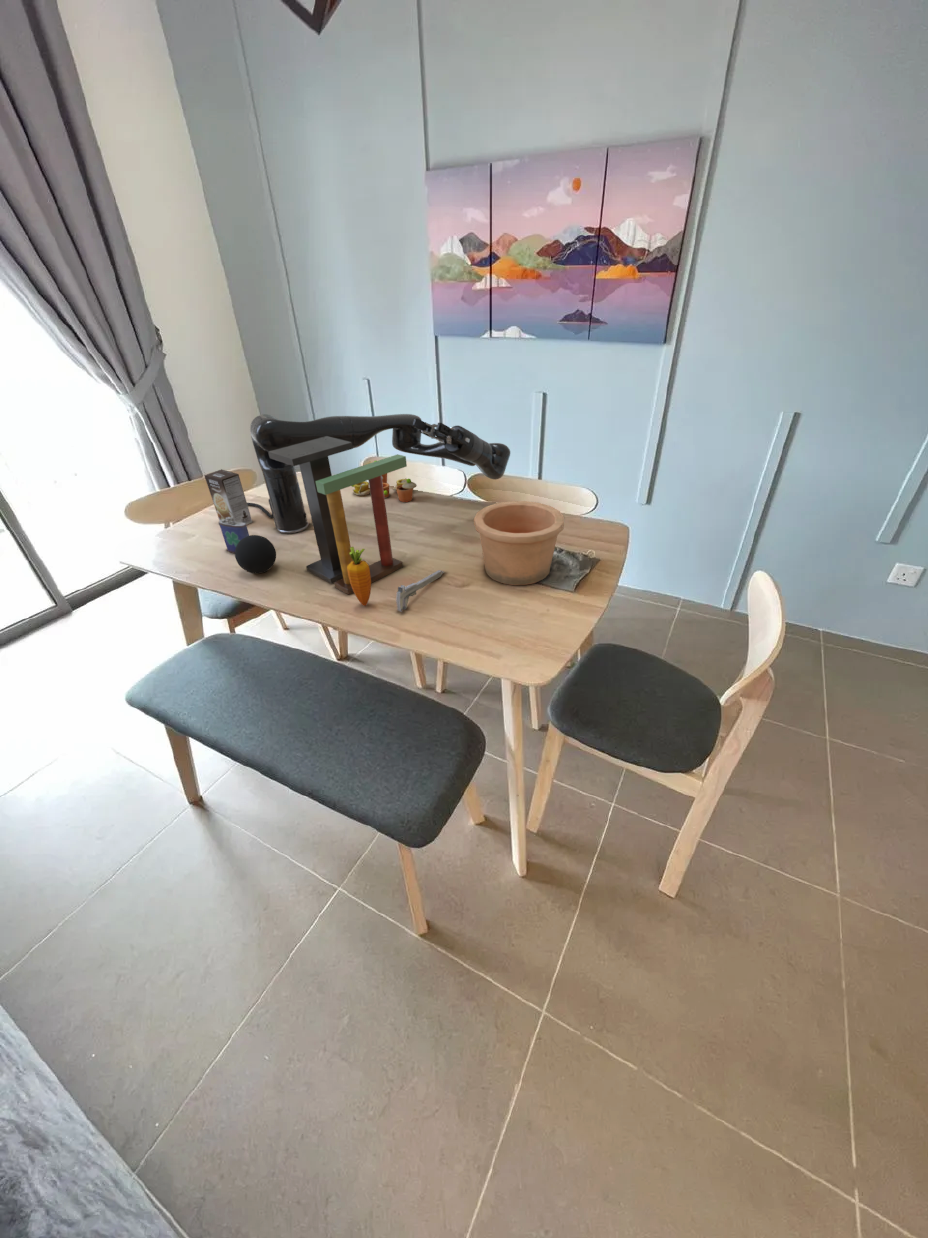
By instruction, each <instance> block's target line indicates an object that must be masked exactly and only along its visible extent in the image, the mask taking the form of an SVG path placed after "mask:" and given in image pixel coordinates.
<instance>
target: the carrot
mask: <svg viewBox="0 0 928 1238" xmlns="http://www.w3.org/2000/svg"><path fill="white" fill-rule="evenodd" d="M350 549H351V552H350V556H351V558H352V559H353V561H352V562H351V563H350V564H349V565H348V566H347V571H348V576H349V580H350V584H351V586H352V589H353V591H354V592H353V593H354V596H355V597H356V599H357V600H358V602H359V603H360V604H361V605H362V606H364V607H366V606H367V605H368V602H369V600H370V596H371V593H372V591H371V590H372V583H371V577H370V569H369V563H367V561H366V560H363V558H362V557H361V555H362V554H363V552H364V551H365V550H366V549H365V548H362V549H360V550H359V549H355V547H354V546H351V548H350Z"/></svg>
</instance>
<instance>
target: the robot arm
mask: <svg viewBox="0 0 928 1238" xmlns="http://www.w3.org/2000/svg"><path fill="white" fill-rule="evenodd" d="M249 428H250V429H249V433H250V434H249V435H250V438H251V443H252V445H253V449H254V452H255V455H256V459H257V462H258V465H259V467H260V470H261V472H262V476H263V479H264V482H265V487H266V491H267V494H268V497H269V498H268V504H269V507H270V511H271V513H270V512H269V511H268V510H266V509H265V508H264V507H263V506H262V505H261V504H258V503H253V502H247V505H248V507H255V508H258V509H260V510H261V511H262V512H263V513H264V514H265V515H266V516H267V517H268V518H269V519H272V520H273V522H274V526H275V529H277V531H278V532H279V533H280V534H287V535H288V534H289V535H290V534H297V533H300V532H303V531H305V530H306V529H307V528H309V525H310V524H309V522H308V515H307V512H306V509H305V503H304V501H303V496H302V492H301V488H300V484H299V479H298V474H297V471H296V466H292V465H289V464H286V463H283V462H280V461H277V460H274V459H271V458H270V457H269V453H268V452H269V451H273V450H276V449H280V448H284V447H288V446H291V445H295V444H299V443H303V442H307V441H310V440H314V439H318V438H322V437H325V436H329V437H332V438H336V439H340V440H344V441H348V442H352V446H353V449H356V448H360V447H361V446H363V445H364V444H366V443H367V442H368V441H370V440H372V439H373V438H374V437H375V436H377V435H378V434H380V433H382V432H384V431H388V430H392V435H391V436H392V437H391V445H392V447H393V448H394V449H395V450H396V451H398V452H403V453H406V454H411V455H417V456H424V457H431V458H436V459H437V458H438V459H443V460H449V461H453V462H455V463H460V464H463V465H466V466H469V467H475V466H476V467H477V469H479V471H480V472H481V473H482V474H483V476H485V477H486V478H487V479H490V480H495V481H496V480H499V479H501V478H502V477H503V476H505V475H504V474H505V472H506V470H507V466H508V464H509V463H508V462H509V460H510V457H511V450H510V448H509V446H507V445H506V444H504V443H501V442H487V441H486V440H484V439H482V438H480V436H478V435H476V434H475V433H473V432H472V431H470V430H469V429H467V428H466V427H463V426H462V425H453V426H448V425H446V424H445V423H442V422H437V423H432V424H431V423H428V422H426V421H423V419H422V418H421V417H420V416H418V415H416V414H412V413H396V414H384V415H372V416H371V415H370V416H369V415H366V416H365V415H361V416H359V415H332V416H324V417H320V418H316V419H313V420H309V421H290V420H282V419H278V418H277V417H276V416H274V415H272V414H266V413H262V414H259V415H257V416H255V417H254V418H253V419H252V421H251V423H250V427H249ZM422 434H423V435H425V436H426V437H428V438H431V439H433V440H436V441H438V442H435V443H432V444H425V443H422Z"/></svg>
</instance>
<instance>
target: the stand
mask: <svg viewBox="0 0 928 1238" xmlns="http://www.w3.org/2000/svg"><path fill="white" fill-rule="evenodd" d="M353 449H354V448H353V446H352V442H348V441H344V440H340V439H336V438H332V437H329V436H325V437H322V438H318V439H314V440H310V441H307V442H303V443H299V444H295V445H291V446H288V447H284V448H280V449H276V450H273V451H269V452H268V453H269V457H270V458H271V459H274V460H277V461H280V462H283V463H286V464H289V465H292V466H295V467H296V466H299V470H300V475H301V479H302V484H303V487H304V493H305V497H306V501H307V505H308V509H309V514H310V518H311V523H312V527H313V532H314V536H315V540H316V544H317V550H318V554H319V557H320V559H318V560H317V561H314V562H312V563H310V564H307V565H306V566H305V567H306V571H307V572H309V573H311V574H312V575H314V576H316V577H318V578H320V579H322V580H324V581H326V582H327V583H328V584H331V585H333V584H334V582H336V581H338V580H341V579H343V574H342V569H341V565H340V560H339V555H338V550H337V545H336V540H335V535H334V530H333V525H332V520H331V515H330V510H329V506H328V501H327V496H326V495H324V494H322V493H319V492H318V491H317V487H316V482H315V481H317V480H320V479H323V478H326V477H330V476H333V475H332V470H331V464H330V459H329V457H330V456H333V455H337V454H340V453H343V452H347V451H350V450H353Z"/></svg>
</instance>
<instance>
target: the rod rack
mask: <svg viewBox="0 0 928 1238" xmlns="http://www.w3.org/2000/svg"><path fill="white" fill-rule="evenodd" d="M368 483H369V488H370V493H369V494H370V499H371V506H372V515H373V520H374V527H375V533H376V539H377V547H378V553H379V560H378V561H376V562H374V563H372V564H370V565H369V564H368V566H369V569H370V577H371V584H372V583H374V582H376V581H379V580H380V579H382V578H384V577H386V576H388V575H390V574H393V573H394V572H396V571H398V570H400V569H401V568H404V565H403V561H401V560H399V559H397V558H395V557H393V552H392V543H391V537H390V528H389V522H388V521H389V520H388V513H387V505H386V498H384V490H383V483H382V475H381V476H378V477H375V478H372V479H370V480H368ZM326 496H327V501H328V506H329V510H330V515H331V520H332V525H333V530H334V535H335V540H336V545H337V550H338V555H339V560H340V565H341V569H342V574H343V579H341V580H338V581H336V582H334V583H333V584H334V588H335V589H337V590H339V591H341V592H343V593H345V594H346V595H351V594H353V593H354V591H353V589H352V586H351V584H350V580H349V576H348V571H347V566H348V565H349V564H350V563H351V562H352V561H353V559H352V558H351V556H350V552H351V549H350V548H351V547H352V546H351V540H350V536H349V530H348V524H347V518H346V512H345V507H344V501H343V496H342V490H338V491H335V492H332V493H330V494H327V495H326Z"/></svg>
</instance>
